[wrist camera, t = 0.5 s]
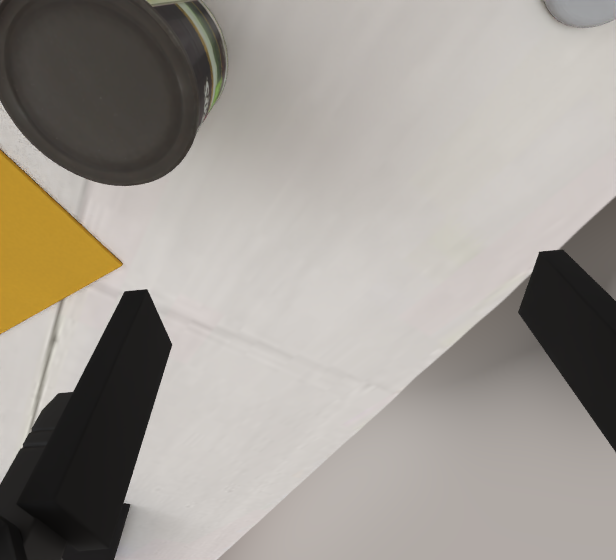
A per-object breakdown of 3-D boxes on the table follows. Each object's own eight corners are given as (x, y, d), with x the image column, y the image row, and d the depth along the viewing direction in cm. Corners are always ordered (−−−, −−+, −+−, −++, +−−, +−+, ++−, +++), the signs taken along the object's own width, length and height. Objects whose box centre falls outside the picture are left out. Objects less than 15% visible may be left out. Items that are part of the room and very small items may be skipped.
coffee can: (254, 50, 31) (236, 87, 20) (185, 144, 36) (139, 218, 24) (136, -67, 27) (30, -102, 16) (74, 58, 31) (-45, 101, 20)
